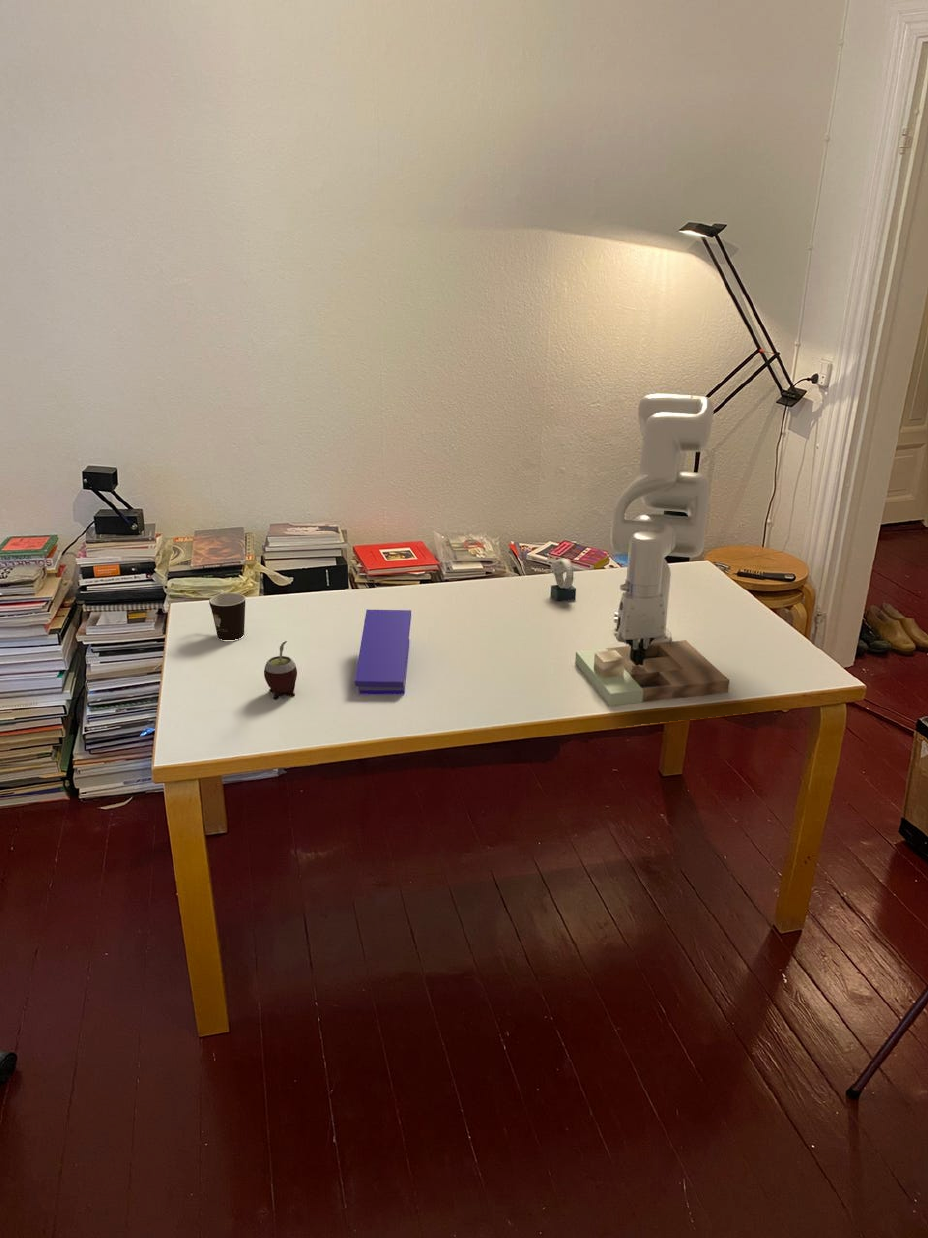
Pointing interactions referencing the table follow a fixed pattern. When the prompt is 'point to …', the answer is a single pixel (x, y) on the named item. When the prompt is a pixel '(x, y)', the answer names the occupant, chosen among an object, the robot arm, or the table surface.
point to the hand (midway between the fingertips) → (637, 662)
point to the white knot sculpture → (563, 588)
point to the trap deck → (674, 672)
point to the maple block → (609, 664)
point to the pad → (609, 681)
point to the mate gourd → (281, 675)
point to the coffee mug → (228, 615)
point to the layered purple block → (384, 652)
